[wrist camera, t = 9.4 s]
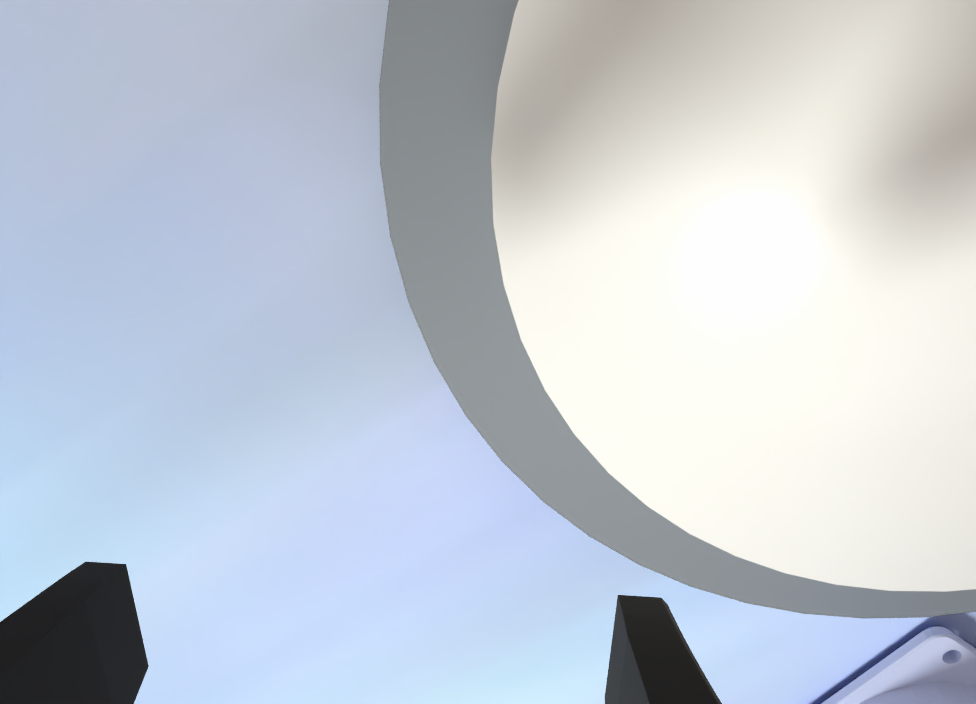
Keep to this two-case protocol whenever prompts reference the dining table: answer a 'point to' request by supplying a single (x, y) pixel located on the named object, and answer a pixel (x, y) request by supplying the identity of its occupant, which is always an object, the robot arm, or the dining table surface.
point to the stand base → (491, 325)
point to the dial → (756, 267)
